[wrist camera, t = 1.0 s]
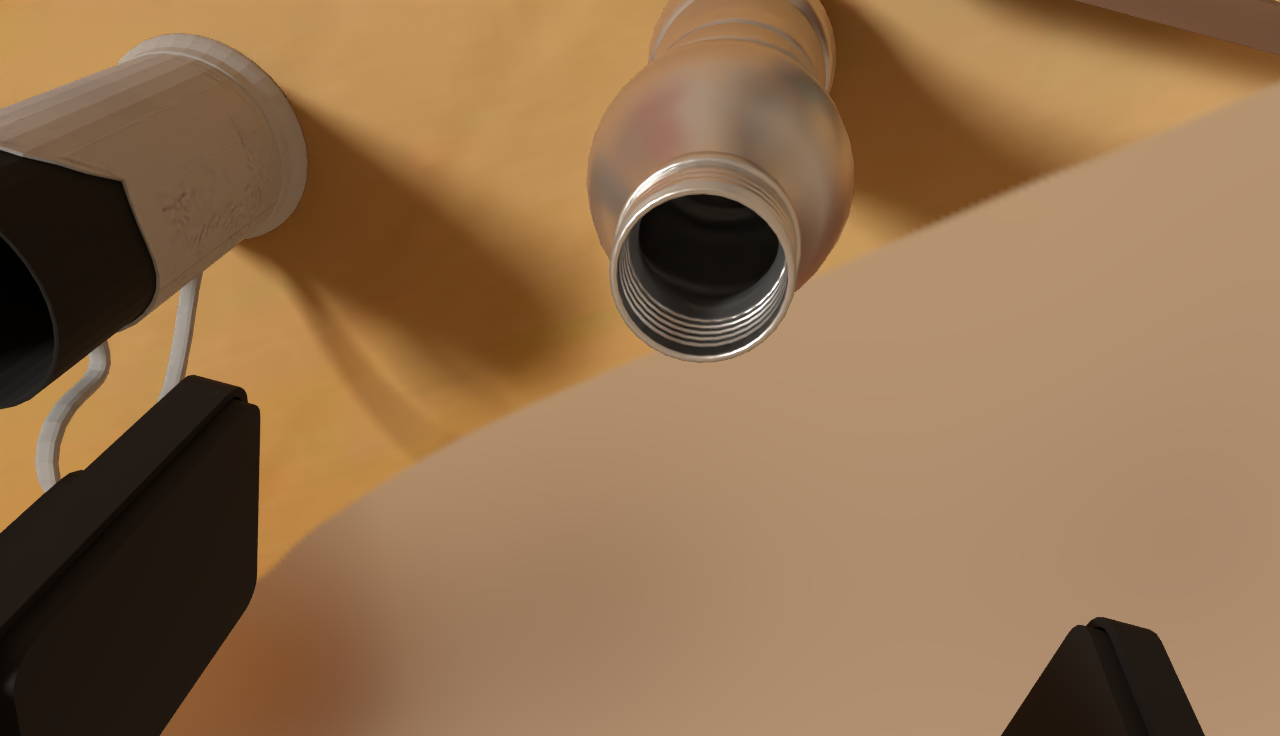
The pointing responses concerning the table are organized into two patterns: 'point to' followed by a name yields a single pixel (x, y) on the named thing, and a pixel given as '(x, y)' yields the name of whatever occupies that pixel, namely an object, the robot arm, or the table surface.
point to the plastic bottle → (721, 174)
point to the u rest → (1210, 18)
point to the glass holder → (131, 208)
